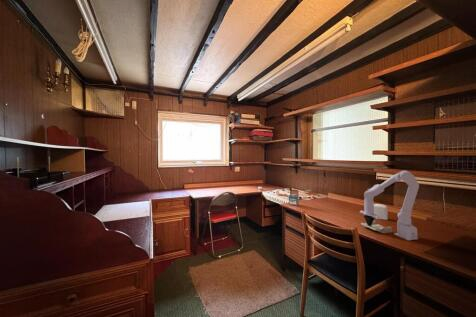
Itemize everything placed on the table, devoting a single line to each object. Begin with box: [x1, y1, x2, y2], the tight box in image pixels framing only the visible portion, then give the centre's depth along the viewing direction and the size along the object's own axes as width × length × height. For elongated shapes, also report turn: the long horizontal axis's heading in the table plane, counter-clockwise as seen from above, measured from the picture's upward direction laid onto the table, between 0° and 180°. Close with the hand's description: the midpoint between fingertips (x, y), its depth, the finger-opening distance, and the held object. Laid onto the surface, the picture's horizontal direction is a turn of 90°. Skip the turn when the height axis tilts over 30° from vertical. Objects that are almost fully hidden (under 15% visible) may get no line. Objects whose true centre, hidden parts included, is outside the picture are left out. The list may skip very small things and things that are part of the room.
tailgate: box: [360, 222, 382, 232], centre depth 134 cm, size 12×1×5 cm
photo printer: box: [374, 203, 389, 221], centre depth 156 cm, size 10×4×12 cm, turn 39°
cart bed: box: [372, 220, 393, 234], centre depth 135 cm, size 13×8×4 cm, turn 10°
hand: (369, 225), depth 134 cm, fingers closed, pressing on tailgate
